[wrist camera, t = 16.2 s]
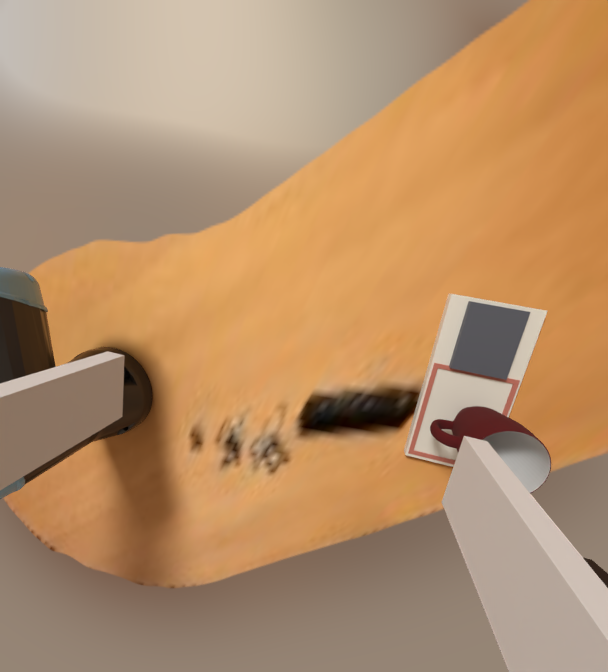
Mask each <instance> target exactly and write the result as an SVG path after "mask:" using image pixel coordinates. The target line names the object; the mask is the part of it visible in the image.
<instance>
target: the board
mask: <svg viewBox="0 0 608 672" xmlns="http://www.w3.org/2000/svg"><path fill="white" fill-rule="evenodd" d="M546 314H547V311H545V310H540V309H534V308H528V307H523V306H517V305H511V304H506V303H500V302H495V301H489V300H483V299H478V298H472V297H467V296H461V295H455V294H448V298H447V301H446V305H445V308H444V312H443V315H442V319H441V322H440V326H439V329H438V333H437V336H436V340H435V343H434V347H433V350H432V354H431V357H430V361H429V364H428V368H427V371H426V375H425V378H424V382H423V385H422V389H421V392H420V396H419V399H418V403H417V406H416V410H415V413H414V417H413V420H412V424H411V427H410V431H409V434H408V438H407V441H406V445H405V448H404V452H405V455H407V456H411V457H415V458H419V459H423V460H427V461H431V462H435V463H439V464H443V465H447V466H451V467H454V464H455V461H456V458H457V455H458V452H457V449H456V448H452V447H448V446H446V445H444V444H442V443H440V442H439V441H437V440H436V439H435V438H434V437H433V436H432V434H431V432H430V426H431V423H432V422H433V421H434V420H437V419H443V420H449V421H453V420H454V419H455V417H456V415H457V414H458V413H459V411H461V410H462V409H464V408H466V407H472V406H482V407H487V408H490V409H493V410H495V411H497V412H499V413H501V414H503V415H505V416H506V417H509V414H510V412H511V409H512V406H513V404H514V401H515V398H516V395H517V393H518V390H519V387H520V384H521V382H522V379H523V376H524V374H525V371H526V368H527V365H528V363H529V360H530V357H531V355H532V352H533V349H534V346H535V344H536V341H537V338H538V335H539V333H540V330H541V327H542V325H543V322H544V319H545V316H546ZM441 430H443V431H444V432H446V433H448V434H451V435H453V434H452V430H449V429H441Z"/></svg>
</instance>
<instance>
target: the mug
mask: <svg viewBox="0 0 608 672" xmlns="http://www.w3.org/2000/svg"><path fill="white" fill-rule="evenodd" d="M441 429H449V430H452V434H453V435H451V434H448V433H446V432H444V431H443V430H441ZM430 432H431V434H432V436H433V437H434V438H435V439H436V440H437V441H439V442H440V443H442V444H444V445H446V446H448V447H452V448H456V449H457V452H459V449H460V446H461V443H462V440H463V437H464V436H467V437H471V438H476V439H480V440H484V441H487V442H488V443H489V444H490V445H491V446H492V448H493V449H494V450H495V451H496V453H497V454H498V455H499V456H500V457H501V459H502V460H503V461H504V462H505V464H506V465H507V466H508V467H509V468H510V470H511V471H512V472H513V473H514V474H515V476H516V477H517V478H518V479H519V481H520V482H521V483H522V484H523V485H524V487H525V488H526V489H527V490H528V492H529V493H532V492H534V491H535V490H537V489H538V488H539V487H540V486H542V484H543V483H544V482H545V481H546V479H547V478H548V476H549V473H550V470H551V458H550V455H549V452H548V450H547V449H546V447H545V446H544V445H543V443H542V442H541V441H540V440H539V439H538V438H536V437H535V436H534V435H533V434H532V433H531V432H530V431H529V430H527V429H526V428H525V427H524V426H522V425H521V424H519V423H517V422H516V421H514V420H512V419H510V418H508V417H506V416H505V415H503V414H501V413H499V412H497V411H495V410H493V409H490V408H487V407H482V406H472V407H466V408H464V409H462V410H461V411H459V413H458V414H457V415H456V417H455V419H454V420H453V421H449V420H443V419H437V420H434V421H433V422H432V423H431V426H430Z"/></svg>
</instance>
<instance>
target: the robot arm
mask: <svg viewBox="0 0 608 672" xmlns="http://www.w3.org/2000/svg"><path fill="white" fill-rule="evenodd" d="M46 312H48V310H47V308H46V307H45V306H44V303H43V299H42V295H41V290H40V286H39V284H38V282H37V281H36V279H35V278H34V277H32V276H31V275H29V274H27V273H25V272H22V271H19V270H14V269H9V268H3V267H0V499H1V498H3V497H5V496H7V495H9V494H10V493H12V492H14V491H17V490H19V489H21V488H22V487H23V486H24V485H25V484H26V483H28V482H30V481H31V480H33V479H34V478H36V477H37V476H39V475H41V474H42V473H44V472H45V471H47V470H48V469H50V468H52V467H53V466H55V465H56V464H58V463H59V462H61V461H63V460H64V459H66V458H67V457H69V456H70V455H72V454H74V453H75V452H77V451H78V450H80V449H81V448H83V447H84V446H86V445H88V444H89V443H91V442H93V441H97V440H101V439H105V438H108V437H112V436H116V435H120V434H123V433H125V432H127V431H129V430H131V429H133V428H134V427H135V426H137V425H138V424H140V423H141V422H142V421H143V420H144V419H145V418H146V417H147V415H148V413H149V411H150V408H151V404H152V389H151V385H150V382H149V379H148V377H147V375H146V373H145V371H144V370H143V368H142V367H141V365H140V364H139V363H138V362H137V361H136V360H135V359H134V358H133V357H131V356H130V355H128V354H127V353H125V352H123V351H121V350H118V349H115V348H110V347H101V348H96V349H92V350H89V351H86V352H83V353H81V354H79V355H77V356H76V357H75V358H74V359H72V360H71V361H70V362H68V363H67V364H64V365H61V366H57V367H55V361H54V356H53V350H52V344H51V338H50V332H49V326H48V320H47V314H46ZM442 504H443V507H444V509H445V511H446V514H447V517H448V519H449V522H450V524H451V527H452V529H453V532H454V534H455V537H456V540H457V541H458V544H459V547H460V550H461V552H462V555H463V557H464V560H465V562H466V565H467V567H468V570H469V572H470V575H471V577H472V580H473V582H474V585H475V588H476V590H477V592H478V595H479V598H480V600H481V602H482V605H483V607H484V610H485V613H486V615H487V618H488V620H489V623H490V626H491V628H492V631H493V633H494V636H495V638H496V641H497V643H498V646H499V648H500V651H501V653H502V656H503V658H504V661H505V663H506V666H507V668H508V671H509V672H608V574H607V573H606V572H605V571H604V570H603V569H602V568H601V567H599V566H598V565H597V564H596V563H595V562H594V561H592V560H590V559H586V558H583V557H582V556H581V555H580V554H579V552H578V551H577V550H576V549H575V548H574V546H573V545H572V544H571V543H570V542H569V541H568V539H567V538H566V537H565V535H564V534H563V533H562V532H561V531H560V529H559V528H558V527H557V526H556V524H555V523H554V522H553V521H552V520H551V518H550V517H549V516H548V515H547V514H546V512H545V511H544V510H543V509H542V507H541V506H540V505H539V504H538V503H537V501H536V500H535V499H534V498H533V496H532V495H531V494H530V493H529V492H528V490H527V489H526V488H525V487H524V485H523V484H522V483H521V482H520V481H519V479H518V478H517V477H516V476H515V474H514V473H513V472H512V471H511V470H510V468H509V467H508V466H507V465H506V464H505V462H504V461H503V460H502V459H501V457H500V456H499V455H498V454H497V453H496V451H495V450H494V449H493V448H492V446H491V445H490V444H489V443H488V442H487V441H484V440H480V439H476V438H471V437H467V436H464V437H463V440H462V443H461V446H460V449H459V452H458V455H457V458H456V461H455V464H454V467H453V470H452V473H451V476H450V479H449V482H448V485H447V488H446V491H445V494H444V497H443V500H442Z"/></svg>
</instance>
